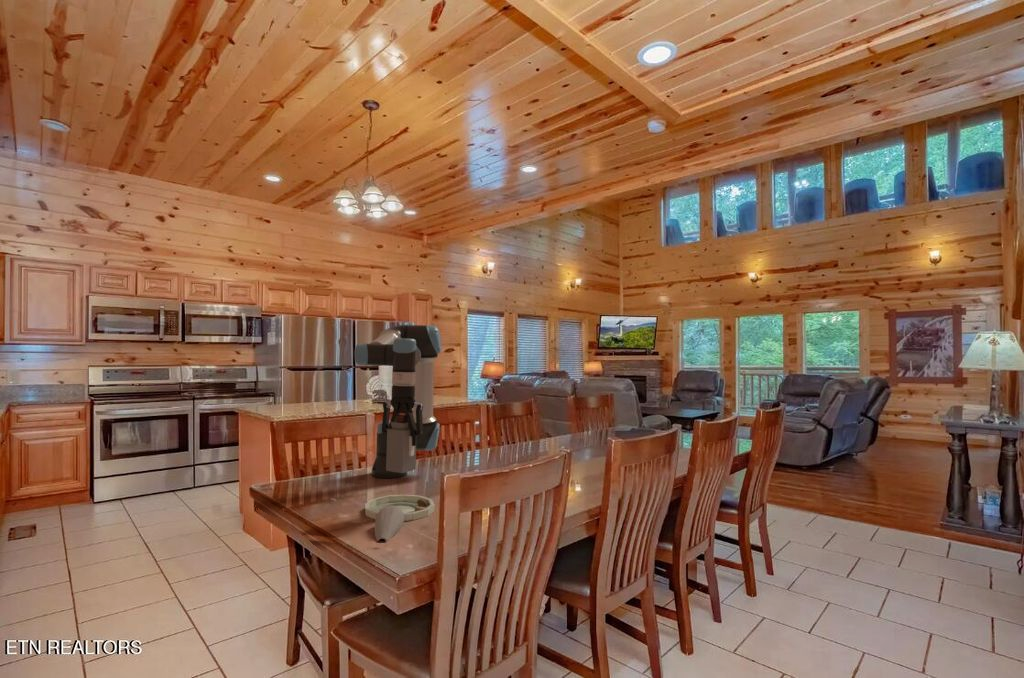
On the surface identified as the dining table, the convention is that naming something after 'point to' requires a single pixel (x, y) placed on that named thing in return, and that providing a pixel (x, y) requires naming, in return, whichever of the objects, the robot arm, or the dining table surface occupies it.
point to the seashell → (388, 522)
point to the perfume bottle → (399, 447)
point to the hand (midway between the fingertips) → (401, 454)
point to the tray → (400, 506)
